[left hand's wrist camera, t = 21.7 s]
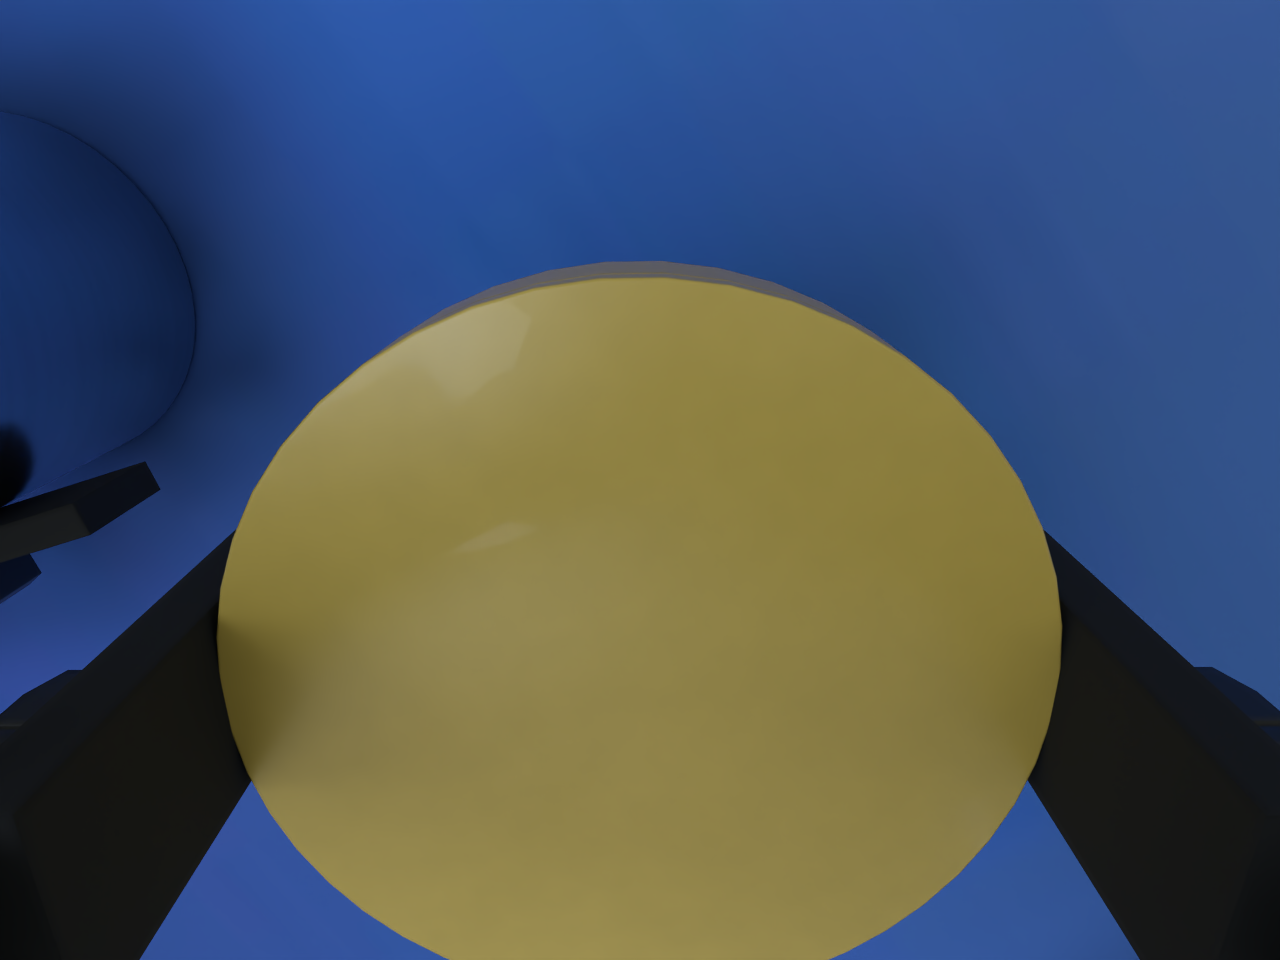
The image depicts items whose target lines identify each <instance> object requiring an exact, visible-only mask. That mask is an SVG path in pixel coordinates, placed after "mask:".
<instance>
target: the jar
mask: <svg viewBox="0 0 1280 960" xmlns="http://www.w3.org/2000/svg"><path fill="white" fill-rule="evenodd" d="M194 339H195V312H194V305H193V297H192V291H191V287H190V283H189V280H188V276H187V272H186V269H185V266H184V264H183V261H182V259H181V256H180V254H179V251H178V248H177V246H176V244H175V242H174V241H173V239H172V237H171V235H170V233H169V231H168V229H167V227H166V225H165V224H164V222H163V221H162V219H161V218H160V216H159V215H158V214H157V212H156V211H155V209H154V208H153V206H152V205H151V203H150V202H149V201H148V200H147V199H146V197H145V196H144V195H143V194H142V193H141V191H140V190H139V189H138V188H137V187H136V186H135V184H134V183H133V182H132V181H131V180H130V179H129V178H127V177H126V176H125V175H124V174H123V173H122V172H121V171H120V170H119V169H118V168H117V167H116V166H115V165H114V164H112V163H111V162H110V161H109V160H107V159H106V158H105V157H103V156H102V155H101V154H99V153H98V152H97V151H96V150H94V149H93V148H91V147H90V146H88V145H86V144H85V143H83V142H82V141H80V140H78V139H77V138H75V137H73V136H72V135H70V134H68V133H66V132H64V131H61V130H59V129H57V128H55V127H53V126H51V125H48V124H46V123H43V122H40V121H37V120H34V119H31V118H28V117H25V116H22V115H17V114H12V113H6V112H1V111H0V508H1V507H2V506H4V505H6V504H8V503H10V502H12V501H14V500H16V499H18V498H20V497H22V496H24V495H26V494H28V493H30V492H32V491H34V490H35V489H37V488H39V487H41V486H43V485H45V484H47V483H49V482H51V481H53V480H55V479H57V478H59V477H61V476H63V475H65V474H66V473H68V472H70V471H72V470H74V469H76V468H78V467H80V466H82V465H84V464H86V463H88V462H90V461H92V460H94V459H96V458H98V457H99V456H101V455H103V454H105V453H107V452H109V451H111V450H113V449H115V448H117V447H119V446H121V445H123V444H125V443H126V442H128V441H130V440H132V439H134V438H135V437H137V436H139V435H141V434H142V433H143V432H145V431H146V430H147V429H148V428H150V427H151V426H152V425H154V424H155V423H156V422H157V421H158V420H159V419H160V418H161V416H162V415H163V414H164V413H165V412H166V411H167V410H168V409H169V407H170V406H171V404H172V403H173V401H174V400H175V398H176V397H177V395H178V394H179V391H180V389H181V387H182V385H183V383H184V381H185V378H186V376H187V373H188V369H189V366H190V362H191V359H192V354H193V347H194Z"/></svg>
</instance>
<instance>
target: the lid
mask: <svg viewBox="0 0 1280 960" xmlns="http://www.w3.org/2000/svg"><path fill="white" fill-rule="evenodd" d="M1061 644H1062V620H1061V611H1060V603H1059V594H1058V586H1057V577H1056V573H1055V570H1054V566H1053V563H1052V559H1051V555H1050V552H1049V548H1048V545H1047V541H1046V538H1045V534H1044V531H1043V527H1042V525H1041V523H1040V521H1039V519H1038V517H1037V515H1036V512H1035V510H1034V508H1033V506H1032V504H1031V502H1030V499H1029V497H1028V495H1027V493H1026V491H1025V489H1024V487H1023V484H1022V482H1021V480H1020V479H1019V477H1018V476H1017V474H1016V473H1015V471H1014V470H1013V468H1012V467H1011V465H1010V464H1009V462H1008V461H1007V459H1006V458H1005V456H1004V455H1003V453H1002V452H1001V450H1000V449H999V447H998V446H997V444H996V443H995V441H994V440H993V439H992V437H991V436H990V434H989V433H988V432H987V431H986V430H985V429H984V428H983V427H982V426H981V425H980V424H979V422H978V421H977V420H976V419H975V418H974V417H973V416H972V415H971V414H970V413H969V412H968V411H967V409H966V408H965V407H964V406H963V405H962V404H961V403H960V402H959V401H958V400H957V399H956V398H955V396H954V395H953V394H952V393H951V392H949V391H948V390H947V389H946V388H944V387H943V386H942V385H941V384H939V383H938V382H937V381H936V380H934V379H933V378H932V377H931V376H929V375H928V374H927V373H926V372H924V371H923V370H922V369H921V368H919V367H918V366H917V365H916V364H914V363H913V362H912V361H911V360H909V359H908V358H907V357H906V356H904V355H903V354H902V353H900V352H899V351H897V350H896V349H895V348H893V347H892V346H891V345H889V344H888V343H887V342H885V341H884V340H883V339H881V338H880V337H878V336H877V335H876V334H874V333H873V332H872V331H870V330H869V329H867V328H865V327H863V326H862V325H860V324H858V323H857V322H855V321H853V320H852V319H850V318H848V317H846V316H845V315H843V314H841V313H840V312H838V311H836V310H835V309H833V308H831V307H830V306H828V305H826V304H824V303H822V302H820V301H817V300H815V299H813V298H810V297H808V296H805V295H803V294H800V293H798V292H796V291H793V290H791V289H788V288H786V287H784V286H781V285H779V284H776V283H774V282H771V281H767V280H763V279H759V278H755V277H751V276H748V275H744V274H740V273H736V272H732V271H728V270H725V269H721V268H715V267H707V266H699V265H690V264H682V263H674V262H665V261H634V262H601V263H594V264H588V265H581V266H574V267H568V268H561V269H555V270H548V271H545V272H541V273H538V274H534V275H531V276H528V277H524V278H521V279H517V280H514V281H511V282H507V283H504V284H500V285H497V286H494V287H492V288H489V289H487V290H485V291H483V292H481V293H478V294H476V295H474V296H472V297H469V298H467V299H465V300H463V301H461V302H458V303H456V304H454V305H452V306H450V307H447V308H445V309H443V310H442V311H440V312H438V313H437V314H435V315H434V316H432V317H431V318H429V319H427V320H426V321H424V322H423V323H421V324H420V325H418V326H416V327H415V328H413V329H412V330H410V331H409V332H407V333H405V334H404V335H402V336H401V337H399V338H398V339H396V340H395V341H394V342H392V343H391V344H389V345H388V346H387V347H385V348H384V349H383V350H381V351H380V352H379V353H377V354H376V355H374V356H373V357H372V358H370V359H369V360H368V361H366V362H365V363H364V364H362V365H361V366H360V367H359V368H358V369H356V370H355V371H354V372H353V373H352V374H351V375H349V376H348V377H347V378H346V379H345V380H344V381H342V382H341V383H340V384H339V385H338V386H337V387H335V388H334V389H333V390H332V391H331V392H330V393H328V394H327V395H326V396H325V397H324V398H323V399H322V400H320V401H319V402H318V403H317V404H316V405H315V407H314V408H313V409H312V410H311V411H310V412H309V414H308V415H307V416H306V417H305V418H304V419H303V420H302V422H301V423H300V424H299V425H298V426H297V427H296V429H295V430H294V431H293V432H292V433H291V434H290V436H289V437H288V438H287V439H286V440H285V441H284V443H283V444H282V445H281V446H280V448H279V450H278V451H277V453H276V454H275V456H274V458H273V459H272V461H271V462H270V464H269V466H268V467H267V469H266V470H265V472H264V474H263V475H262V477H261V479H260V480H259V482H258V483H257V485H256V487H255V488H254V490H253V491H252V494H251V496H250V499H249V501H248V503H247V506H246V508H245V510H244V513H243V515H242V518H241V520H240V522H239V525H238V527H237V529H236V532H235V534H234V537H233V539H232V543H231V547H230V551H229V555H228V559H227V563H226V568H225V572H224V576H223V580H222V584H221V588H220V601H219V613H218V626H217V650H218V663H219V673H220V679H221V684H222V689H223V694H224V698H225V703H226V708H227V712H228V717H229V721H230V726H231V730H232V734H233V738H234V740H235V743H236V745H237V748H238V750H239V753H240V755H241V758H242V761H243V763H244V766H245V768H246V771H247V773H248V775H249V777H250V779H251V780H252V782H253V784H254V786H255V788H256V789H257V791H258V793H259V795H260V796H261V798H262V800H263V802H264V804H265V805H266V807H267V809H268V811H269V812H270V814H271V815H272V817H273V818H274V819H275V821H276V822H277V823H278V825H279V826H280V827H281V829H282V830H283V831H284V833H285V834H286V835H287V837H288V838H289V839H290V841H291V842H292V843H293V845H294V846H295V847H296V849H297V850H298V851H299V852H300V853H301V854H302V855H303V856H304V857H305V858H306V859H307V860H308V861H309V862H310V863H311V864H312V866H313V867H314V868H315V869H316V870H317V871H318V872H319V873H320V874H321V875H322V876H323V877H324V878H325V879H326V880H327V881H328V882H329V883H330V884H331V885H333V886H334V887H335V888H336V889H337V890H339V891H340V892H341V893H342V894H344V895H345V896H346V897H347V898H348V899H350V900H351V901H352V902H353V903H354V904H356V905H357V906H358V907H359V908H361V909H362V910H363V911H364V912H366V913H367V914H369V915H370V916H372V917H373V918H375V919H377V920H378V921H380V922H381V923H383V924H384V925H386V926H387V927H389V928H390V929H392V930H394V931H395V932H397V933H398V934H400V935H401V936H403V937H405V938H407V939H409V940H411V941H413V942H415V943H417V944H419V945H421V946H422V947H424V948H426V949H428V950H430V951H432V952H434V953H436V954H438V955H440V956H442V957H444V958H447V959H450V960H828V959H831V958H833V957H836V956H838V955H841V954H843V953H845V952H847V951H849V950H851V949H853V948H855V947H857V946H858V945H860V944H862V943H864V942H866V941H868V940H869V939H871V938H873V937H875V936H877V935H879V934H881V933H882V932H884V931H886V930H888V929H889V928H890V927H892V926H893V925H895V924H896V923H898V922H899V921H901V920H902V919H904V918H905V917H906V916H908V915H909V914H911V913H912V912H914V911H915V910H917V909H918V908H920V907H921V906H922V905H924V904H925V903H926V902H927V901H928V900H930V899H931V898H932V897H933V896H934V895H935V894H936V893H938V892H939V891H940V890H941V889H942V888H943V887H945V886H946V885H947V884H948V883H949V882H950V881H951V880H953V879H954V878H955V877H956V876H957V875H958V874H959V873H960V872H961V871H962V870H963V869H964V868H965V867H966V865H967V864H968V863H969V862H970V861H971V860H972V859H973V858H974V857H975V856H976V854H977V853H978V852H979V851H980V850H981V849H982V848H983V847H984V846H985V845H986V843H987V842H988V841H989V840H990V838H991V837H992V836H993V834H994V833H995V831H996V830H997V829H998V827H999V826H1000V824H1001V823H1002V821H1003V820H1004V819H1005V817H1006V816H1007V814H1008V813H1009V811H1010V810H1011V809H1012V807H1013V806H1014V804H1015V803H1016V801H1017V799H1018V797H1019V795H1020V793H1021V791H1022V789H1023V787H1024V785H1025V783H1026V781H1027V780H1028V778H1029V776H1030V774H1031V772H1032V770H1033V768H1034V766H1035V764H1036V762H1037V759H1038V756H1039V753H1040V750H1041V748H1042V745H1043V742H1044V739H1045V736H1046V733H1047V730H1048V726H1049V722H1050V717H1051V713H1052V708H1053V703H1054V698H1055V693H1056V689H1057V684H1058V679H1059V674H1060V668H1061Z"/></svg>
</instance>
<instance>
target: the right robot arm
mask: <svg viewBox="0 0 1280 960" xmlns="http://www.w3.org/2000/svg"><path fill="white" fill-rule="evenodd" d="M159 490H160V488H159V486H158V484H157V482H156V480H155V478H154V477H153V475H152V473H151V471H150V469H149V468H148V466H147V464H146V462H142V463H139V464H136V465H133V466H130V467H127V468H123V469H120V470H117V471H114V472H111V473H108V474H105V475H101V476H98V477H95V478H92V479H89V480H86V481H83V482H79V483H76V484H73V485H70V486H67V487H64V488H61V489H57V490H54V491H51V492H48V493H45V494H42V495H39V496H36V497H32V498H29V499H26V500H23V501H20V502H17V503H14V504H10V505H7V506H4V507H1V508H0V604H1V603H2V602H4V601H5V600H7V599H8V598H10V597H11V596H13V595H14V594H16V593H17V592H19V591H20V590H22V589H23V588H25V587H26V586H28V585H29V584H30V583H31V582H32V581H33V580H34V579H36V578H37V577H38V576H39V575H40V574H41V571H40V569H39V568H38V566H37V565H36V563H35V561H34V560H33V558H32V557H31V555H30V553H33V552H36V551H40V550H43V549H46V548H49V547H53V546H56V545H59V544H62V543H66V542H69V541H72V540H75V539H78V538H82V537H85V536H88V535H91V534H92V533H94V532H96V531H97V530H99V529H100V528H102V527H103V526H105V525H106V524H108V523H109V522H111V521H113V520H114V519H116V518H117V517H119V516H120V515H122V514H123V513H125V512H126V511H128V510H130V509H131V508H133V507H134V506H136V505H137V504H139V503H140V502H142V501H143V500H145V499H147V498H148V497H150V496H151V495H153V494H154V493H156V492H157V491H159Z"/></svg>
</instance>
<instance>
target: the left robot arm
mask: <svg viewBox="0 0 1280 960" xmlns="http://www.w3.org/2000/svg"><path fill="white" fill-rule="evenodd" d="M1043 531H1044V530H1043ZM235 532H236V530H235V531H234V532H233V533H232V534H231V535H229V536H228V537H227V538H226V539H225V540H224V541H223V542H222V543H221V544H220V545H219V546H217V547H216V548H215V549H214V550H213V551H212V552H211V553H210V554H209V555H208V556H206V557H205V558H204V559H203V560H202V561H201V562H200V563H199V564H198V565H197V566H196V567H194V568H193V569H192V570H191V571H190V572H189V573H188V574H187V575H186V576H185V577H183V578H182V579H181V580H180V581H179V582H178V583H177V584H176V585H175V586H174V587H173V588H171V589H170V590H169V591H168V592H167V593H166V594H165V595H164V596H163V597H162V598H160V599H159V600H158V601H157V602H156V603H155V604H154V605H153V606H152V607H151V608H150V609H148V610H147V611H146V612H145V613H144V614H143V615H142V616H141V617H140V618H139V619H137V620H136V621H135V622H134V623H133V624H132V625H131V626H130V627H129V628H128V629H127V630H125V631H124V632H123V633H122V634H121V635H120V636H119V637H118V638H117V639H116V640H114V641H113V642H112V643H111V644H110V645H109V646H108V647H107V648H106V649H105V650H104V651H102V652H101V653H100V654H99V655H98V656H97V657H96V658H95V659H94V660H93V661H91V662H90V663H89V664H88V665H87V666H86V667H85V668H84V669H83V670H67V671H65V672H64V673H62V674H60V675H58V676H56V677H54V678H53V679H51V680H49V681H47V682H45V683H44V684H42V685H40V686H38V687H36V688H34V689H33V690H31V691H29V692H27V693H25V694H23V695H22V696H21V697H20V698H19V699H18V700H16V701H15V702H14V703H13V704H12V705H11V706H9V707H8V708H7V709H6V710H5V711H4V712H3V713H1V714H0V960H139V959H140V958H141V956H142V955H143V953H144V951H145V950H146V948H147V947H148V945H149V943H150V942H151V940H152V939H153V937H154V935H155V934H156V932H157V931H158V929H159V927H160V926H161V924H162V923H163V921H164V919H165V918H166V916H167V915H168V913H169V911H170V910H171V908H172V907H173V905H174V903H175V902H176V900H177V899H178V897H179V895H180V894H181V892H182V891H183V889H184V887H185V886H186V884H187V883H188V881H189V880H190V878H191V876H192V875H193V873H194V872H195V870H196V868H197V867H198V865H199V864H200V862H201V860H202V859H203V857H204V856H205V854H206V852H207V851H208V849H209V848H210V846H211V844H212V843H213V841H214V840H215V838H216V836H217V835H218V833H219V832H220V830H221V828H222V827H223V825H224V824H225V822H226V820H227V819H228V817H229V816H230V814H231V812H232V811H233V809H234V808H235V806H236V804H237V803H238V801H239V800H240V798H241V796H242V795H243V793H244V792H245V790H246V789H247V787H248V785H249V784H250V782H251V781H252V780H251V779H250V777H249V775H248V773H247V771H246V768H245V766H244V763H243V761H242V758H241V755H240V753H239V750H238V748H237V745H236V743H235V740H234V738H233V734H232V730H231V726H230V721H229V717H228V712H227V708H226V703H225V698H224V694H223V689H222V684H221V679H220V673H219V663H218V650H217V626H218V613H219V601H220V588H221V584H222V580H223V576H224V572H225V568H226V563H227V559H228V555H229V551H230V547H231V543H232V539H233V537H234V534H235ZM1044 534H1045V538H1046V541H1047V545H1048V548H1049V552H1050V555H1051V559H1052V563H1053V566H1054V570H1055V573H1056V577H1057V586H1058V594H1059V603H1060V611H1061V620H1062V644H1061V668H1060V674H1059V679H1058V684H1057V689H1056V693H1055V698H1054V703H1053V708H1052V713H1051V717H1050V722H1049V726H1048V730H1047V733H1046V736H1045V739H1044V742H1043V745H1042V748H1041V750H1040V753H1039V756H1038V759H1037V762H1036V764H1035V766H1034V768H1033V770H1032V772H1031V774H1030V776H1029V778H1028V781H1029V783H1030V785H1031V786H1032V788H1033V789H1034V791H1035V793H1036V794H1037V796H1038V797H1039V799H1040V801H1041V802H1042V804H1043V805H1044V807H1045V809H1046V810H1047V812H1048V813H1049V815H1050V817H1051V818H1052V820H1053V821H1054V823H1055V824H1056V826H1057V828H1058V829H1059V831H1060V832H1061V834H1062V836H1063V837H1064V839H1065V840H1066V842H1067V844H1068V845H1069V847H1070V848H1071V850H1072V852H1073V853H1074V855H1075V856H1076V858H1077V860H1078V861H1079V863H1080V864H1081V866H1082V868H1083V869H1084V871H1085V872H1086V874H1087V876H1088V877H1089V879H1090V880H1091V882H1092V884H1093V885H1094V887H1095V888H1096V890H1097V892H1098V893H1099V895H1100V896H1101V898H1102V900H1103V901H1104V903H1105V904H1106V906H1107V908H1108V909H1109V911H1110V912H1111V914H1112V916H1113V917H1114V919H1115V920H1116V922H1117V923H1118V925H1119V927H1120V928H1121V930H1122V931H1123V933H1124V935H1125V936H1126V938H1127V939H1128V941H1129V943H1130V944H1131V946H1132V947H1133V949H1134V951H1135V952H1136V954H1137V955H1138V957H1139V959H1140V960H1280V711H1279V710H1278V709H1277V708H1276V707H1274V706H1273V705H1272V704H1271V703H1270V702H1269V701H1267V700H1266V699H1265V698H1264V697H1263V696H1262V695H1260V694H1259V693H1258V692H1257V691H1255V690H1253V689H1251V688H1249V687H1248V686H1246V685H1244V684H1242V683H1240V682H1238V681H1237V680H1235V679H1233V678H1231V677H1229V676H1227V675H1226V674H1224V673H1222V672H1220V671H1218V670H1216V669H1215V668H1213V667H1193V666H1192V665H1191V664H1190V663H1189V662H1188V661H1187V660H1186V659H1185V658H1184V657H1182V656H1181V655H1180V654H1179V653H1178V652H1177V651H1176V650H1175V649H1174V648H1173V647H1172V646H1170V645H1169V644H1168V643H1167V642H1166V641H1165V640H1164V639H1163V638H1162V637H1161V636H1159V635H1158V634H1157V633H1156V632H1155V631H1154V630H1153V629H1152V628H1151V627H1150V626H1149V625H1147V624H1146V623H1145V622H1144V621H1143V620H1142V619H1141V618H1140V617H1139V616H1138V615H1136V614H1135V613H1134V612H1133V611H1132V610H1131V609H1130V608H1129V607H1128V606H1127V605H1126V604H1124V603H1123V602H1122V601H1121V600H1120V599H1119V598H1118V597H1117V596H1116V595H1115V594H1113V593H1112V592H1111V591H1110V590H1109V589H1108V588H1107V587H1106V586H1105V585H1104V584H1103V583H1101V582H1100V581H1099V580H1098V579H1097V578H1096V577H1095V576H1094V575H1093V574H1092V573H1090V572H1089V571H1088V570H1087V569H1086V568H1085V567H1084V566H1083V565H1082V564H1081V563H1080V562H1078V561H1077V560H1076V559H1075V558H1074V557H1073V556H1072V555H1071V554H1070V553H1069V552H1067V551H1066V550H1065V549H1064V548H1063V547H1062V546H1061V545H1060V544H1059V543H1058V542H1057V541H1055V540H1054V539H1053V538H1052V537H1051V536H1050V535H1049V534H1048V533H1047V532H1046V531H1044Z"/></svg>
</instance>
